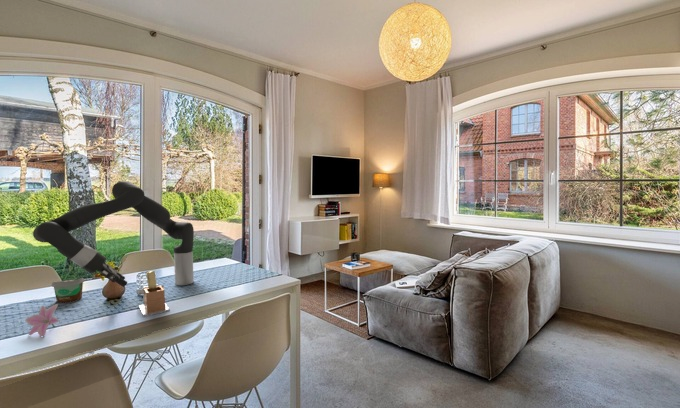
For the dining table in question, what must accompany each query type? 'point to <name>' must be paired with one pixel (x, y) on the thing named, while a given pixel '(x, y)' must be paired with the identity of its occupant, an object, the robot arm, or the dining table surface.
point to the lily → (42, 320)
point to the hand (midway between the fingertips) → (124, 282)
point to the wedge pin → (151, 281)
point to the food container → (68, 290)
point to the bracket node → (153, 301)
